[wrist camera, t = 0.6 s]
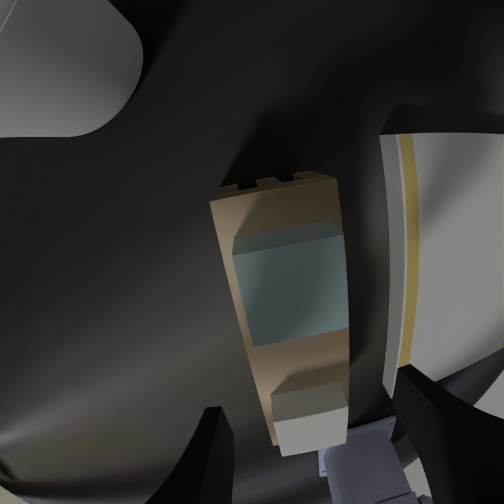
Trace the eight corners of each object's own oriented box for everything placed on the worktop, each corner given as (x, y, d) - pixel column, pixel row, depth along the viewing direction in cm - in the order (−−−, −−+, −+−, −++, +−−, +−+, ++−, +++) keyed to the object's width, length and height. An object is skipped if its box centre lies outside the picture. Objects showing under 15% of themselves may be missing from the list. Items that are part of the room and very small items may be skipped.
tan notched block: (330, 382, 21) (346, 430, 16) (268, 395, 21) (273, 445, 16) (308, 170, 16) (336, 178, 11) (219, 186, 16) (209, 201, 11)
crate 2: (338, 419, 16) (345, 442, 14) (279, 431, 16) (282, 456, 14) (338, 380, 14) (348, 406, 12) (270, 394, 14) (273, 422, 13)
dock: (496, 334, 20) (508, 344, 18) (382, 382, 21) (391, 399, 19) (515, 135, 14) (532, 137, 12) (379, 135, 15) (396, 134, 13)
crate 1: (335, 302, 13) (348, 327, 11) (252, 319, 13) (253, 346, 11) (327, 220, 11) (343, 234, 10) (233, 238, 12) (231, 255, 10)
